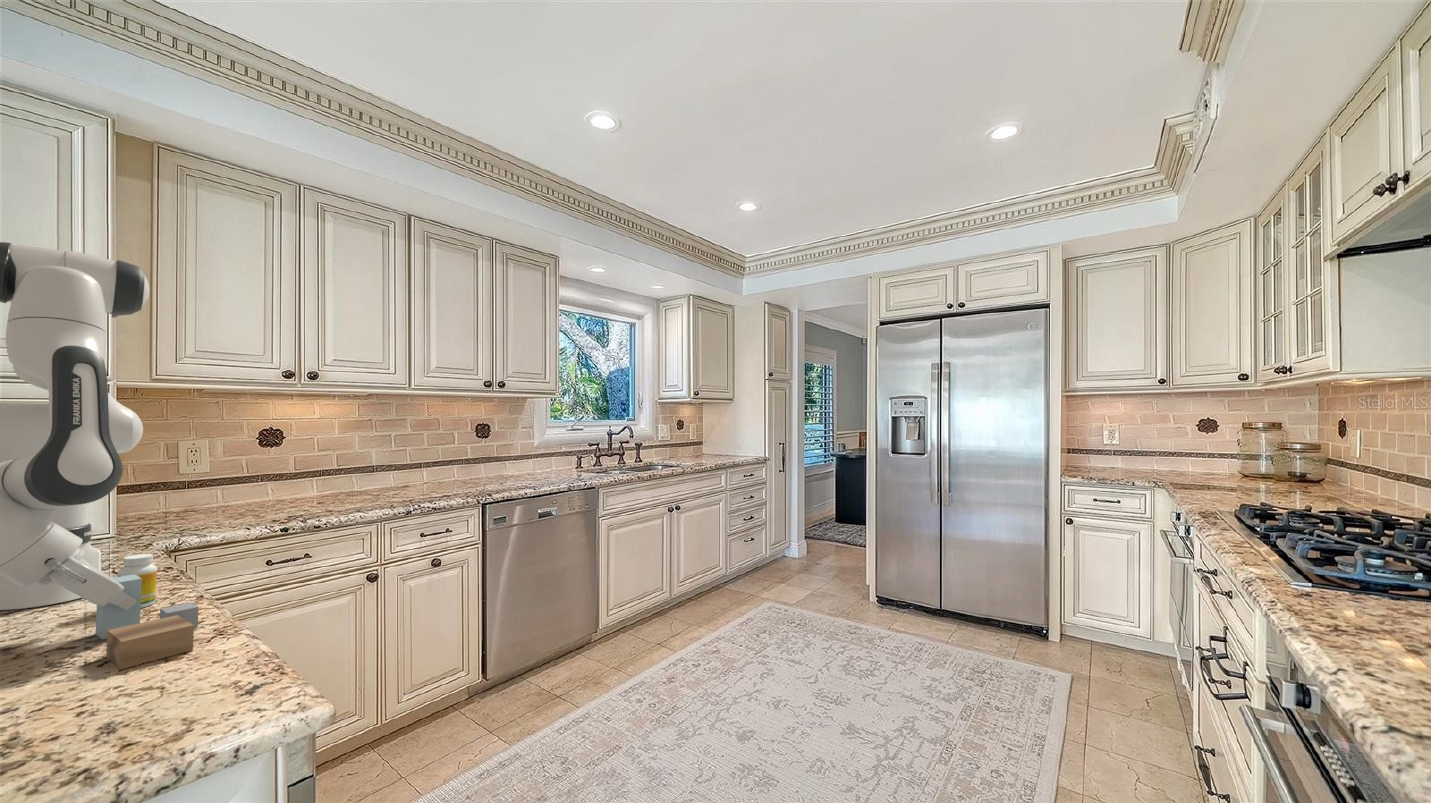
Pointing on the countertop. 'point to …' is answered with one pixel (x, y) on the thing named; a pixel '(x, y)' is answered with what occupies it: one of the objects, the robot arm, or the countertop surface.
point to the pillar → (116, 615)
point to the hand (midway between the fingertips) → (126, 602)
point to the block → (182, 612)
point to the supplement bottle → (142, 575)
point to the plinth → (149, 641)
